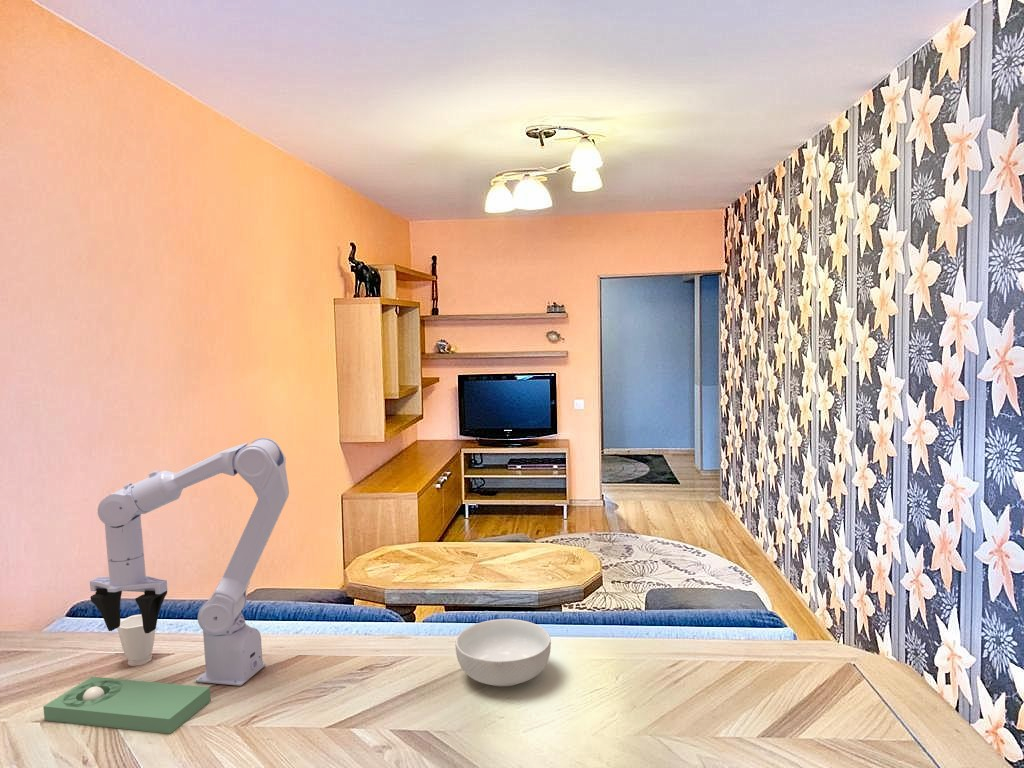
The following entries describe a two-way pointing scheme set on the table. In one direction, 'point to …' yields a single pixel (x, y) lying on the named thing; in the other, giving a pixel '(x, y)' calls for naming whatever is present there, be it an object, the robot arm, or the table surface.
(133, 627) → the cup
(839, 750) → the table surface
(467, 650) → the cereal bowl
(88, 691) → the ball
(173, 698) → the putting strip
